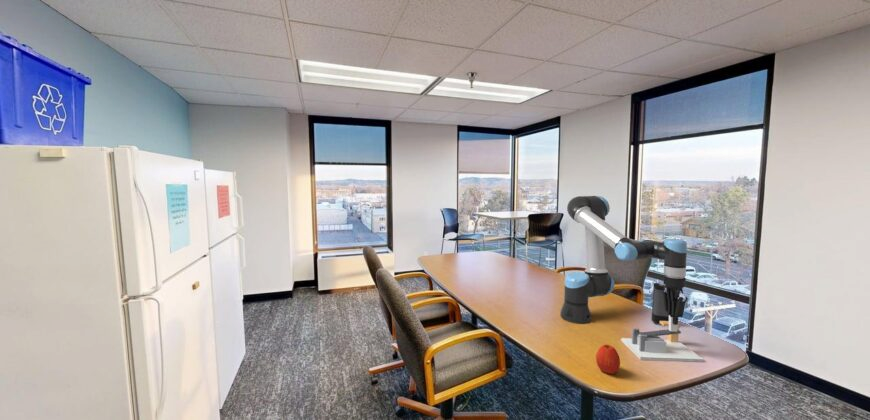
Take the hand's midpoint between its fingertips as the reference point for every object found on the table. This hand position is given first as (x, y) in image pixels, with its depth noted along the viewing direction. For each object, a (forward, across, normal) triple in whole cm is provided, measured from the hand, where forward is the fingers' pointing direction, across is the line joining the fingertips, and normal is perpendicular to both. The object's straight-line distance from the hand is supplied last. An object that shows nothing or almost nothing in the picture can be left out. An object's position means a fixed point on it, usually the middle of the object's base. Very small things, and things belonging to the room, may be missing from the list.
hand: (672, 330), depth 137 cm
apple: (+9, -16, +34) cm, 39 cm away
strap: (+2, 0, +6) cm, 6 cm away
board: (+9, +1, +5) cm, 10 cm away
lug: (+8, +8, -3) cm, 11 cm away
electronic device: (+9, +29, -13) cm, 33 cm away
